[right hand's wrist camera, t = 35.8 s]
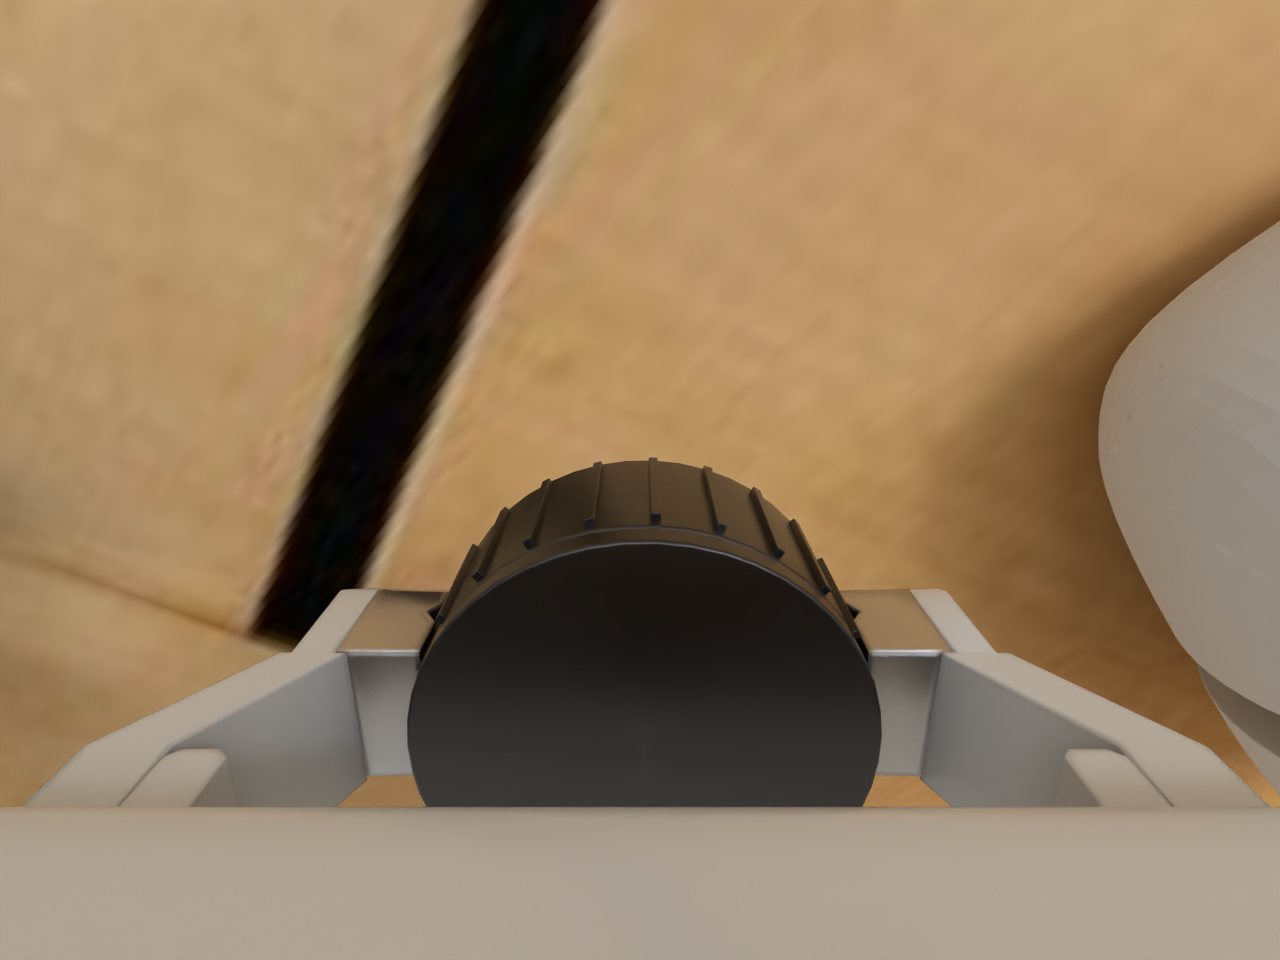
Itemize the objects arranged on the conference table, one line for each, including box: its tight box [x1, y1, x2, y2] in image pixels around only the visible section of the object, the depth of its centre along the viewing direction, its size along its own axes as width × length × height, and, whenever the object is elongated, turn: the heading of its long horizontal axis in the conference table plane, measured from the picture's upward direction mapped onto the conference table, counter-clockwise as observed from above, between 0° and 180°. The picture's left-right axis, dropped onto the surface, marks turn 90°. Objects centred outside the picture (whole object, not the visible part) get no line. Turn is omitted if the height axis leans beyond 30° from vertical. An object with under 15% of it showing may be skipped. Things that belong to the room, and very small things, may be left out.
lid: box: [407, 458, 882, 807], centre depth 9 cm, size 5×5×2 cm
